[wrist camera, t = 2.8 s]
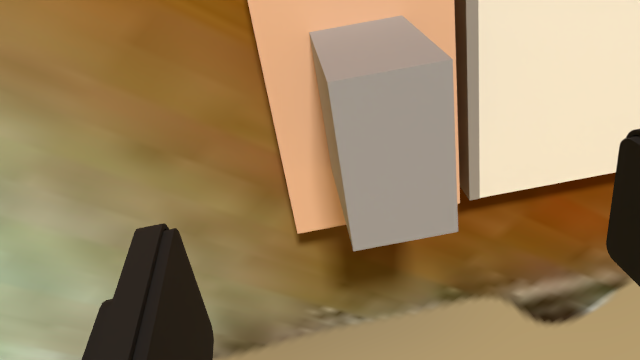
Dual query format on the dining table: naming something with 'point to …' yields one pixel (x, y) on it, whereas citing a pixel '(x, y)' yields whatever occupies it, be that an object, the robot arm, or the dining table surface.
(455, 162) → the pink base grey block
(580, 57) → the base
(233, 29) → the dining table surface
